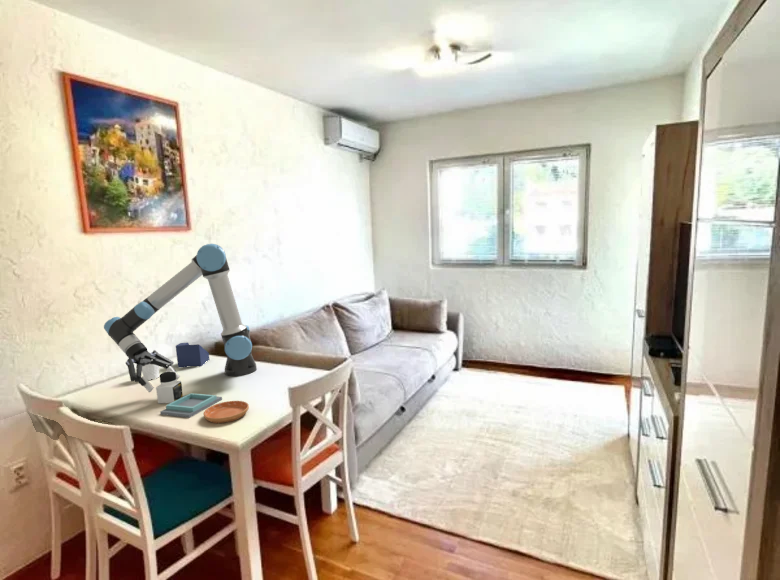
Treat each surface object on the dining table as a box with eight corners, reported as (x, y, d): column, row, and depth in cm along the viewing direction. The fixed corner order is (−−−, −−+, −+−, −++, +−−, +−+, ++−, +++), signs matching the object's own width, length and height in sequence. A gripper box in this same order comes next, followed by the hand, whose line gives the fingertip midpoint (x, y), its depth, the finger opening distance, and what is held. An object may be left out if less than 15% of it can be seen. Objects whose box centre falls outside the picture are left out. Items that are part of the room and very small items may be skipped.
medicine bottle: (174, 403, 178) (171, 375, 176) (157, 403, 178) (154, 375, 176) (183, 396, 185) (180, 369, 183) (166, 397, 185) (163, 370, 183)
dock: (194, 397, 183) (194, 391, 183) (222, 399, 179) (221, 393, 179) (160, 414, 167) (159, 407, 166) (189, 417, 162) (188, 410, 162)
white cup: (164, 375, 216) (161, 356, 214) (154, 380, 208) (151, 360, 207) (149, 375, 217) (146, 356, 215) (138, 381, 209) (136, 361, 208)
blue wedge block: (209, 359, 240) (207, 338, 239) (201, 366, 229) (198, 344, 227) (187, 361, 240) (185, 340, 238) (178, 367, 228) (175, 345, 226)
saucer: (217, 429, 151) (216, 421, 151) (196, 418, 162) (195, 411, 161) (257, 413, 163) (256, 406, 163) (235, 404, 174) (234, 397, 173)
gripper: (153, 346, 196) (183, 380, 193) (101, 362, 173) (135, 401, 170) (161, 335, 194) (191, 369, 191) (110, 350, 170) (143, 389, 168)
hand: (165, 384), depth 180 cm, fingers open, 13 cm apart
